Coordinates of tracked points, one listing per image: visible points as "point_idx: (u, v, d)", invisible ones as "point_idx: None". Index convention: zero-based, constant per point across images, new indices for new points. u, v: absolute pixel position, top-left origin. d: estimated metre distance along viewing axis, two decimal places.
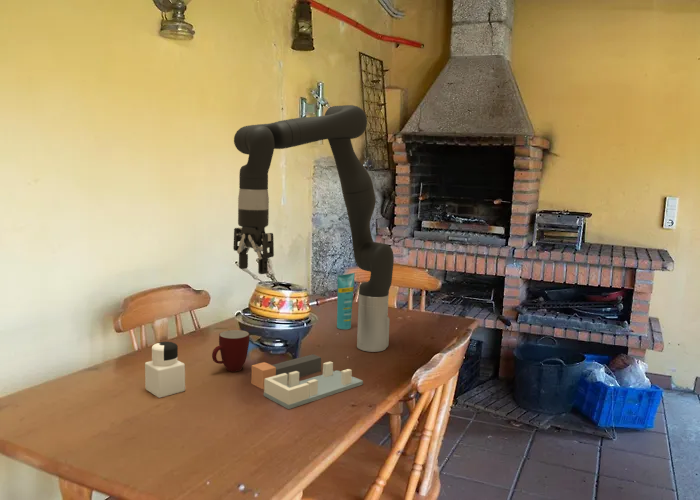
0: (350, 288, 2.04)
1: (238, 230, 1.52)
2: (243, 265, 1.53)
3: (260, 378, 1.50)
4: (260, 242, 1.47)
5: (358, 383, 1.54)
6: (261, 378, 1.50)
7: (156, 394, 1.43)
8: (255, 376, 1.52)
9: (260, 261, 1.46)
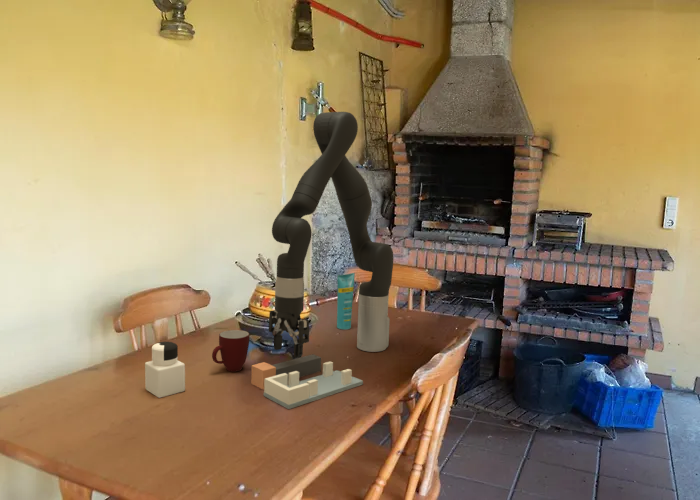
0: (350, 288, 2.04)
1: (273, 313, 1.59)
2: (278, 346, 1.59)
3: (260, 378, 1.50)
4: (295, 327, 1.54)
5: (358, 383, 1.54)
6: (261, 378, 1.50)
7: (156, 394, 1.43)
8: (255, 376, 1.52)
9: (296, 346, 1.53)
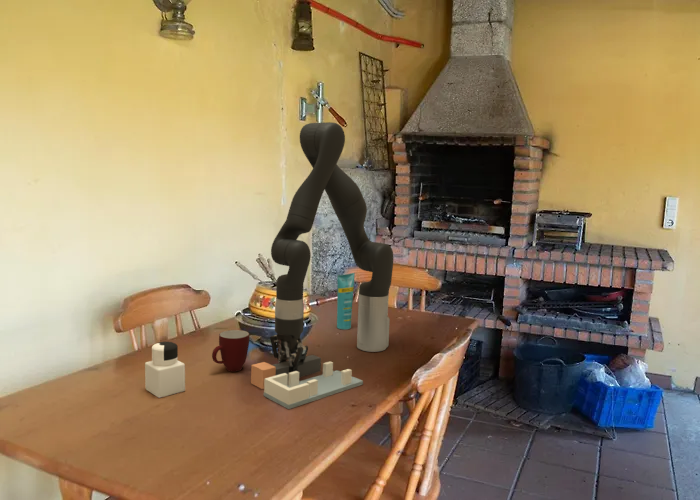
0: (350, 288, 2.04)
1: (274, 337, 1.60)
2: None
3: (259, 378, 1.50)
4: None
5: (358, 383, 1.54)
6: (261, 378, 1.49)
7: (156, 394, 1.43)
8: (255, 376, 1.51)
9: (290, 368, 1.55)
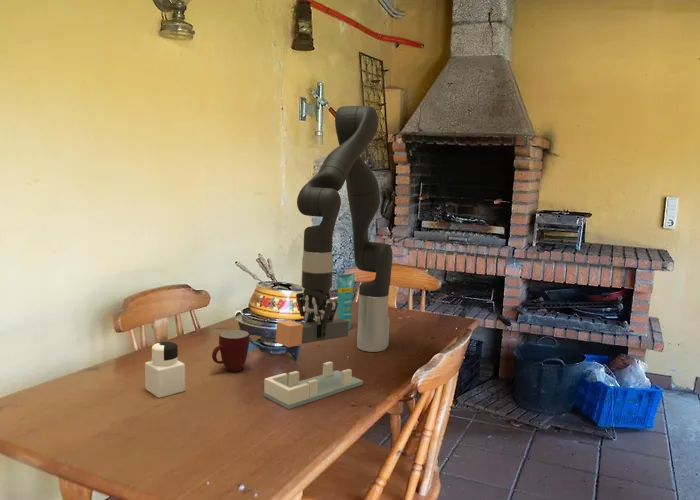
0: (350, 288, 2.04)
1: (300, 294, 1.50)
2: None
3: (285, 335, 1.40)
4: None
5: (358, 383, 1.54)
6: (287, 334, 1.40)
7: (156, 394, 1.43)
8: (280, 333, 1.41)
9: (319, 326, 1.46)
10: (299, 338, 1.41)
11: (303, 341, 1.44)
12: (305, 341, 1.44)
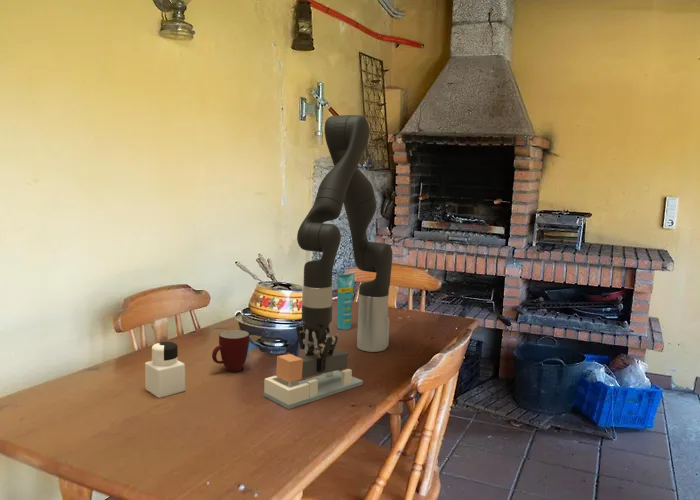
0: (350, 288, 2.04)
1: (300, 327, 1.51)
2: None
3: (286, 370, 1.41)
4: None
5: (358, 383, 1.54)
6: (287, 370, 1.41)
7: (156, 394, 1.43)
8: (280, 368, 1.43)
9: (318, 360, 1.47)
10: (299, 373, 1.43)
11: (303, 375, 1.45)
12: (305, 375, 1.45)
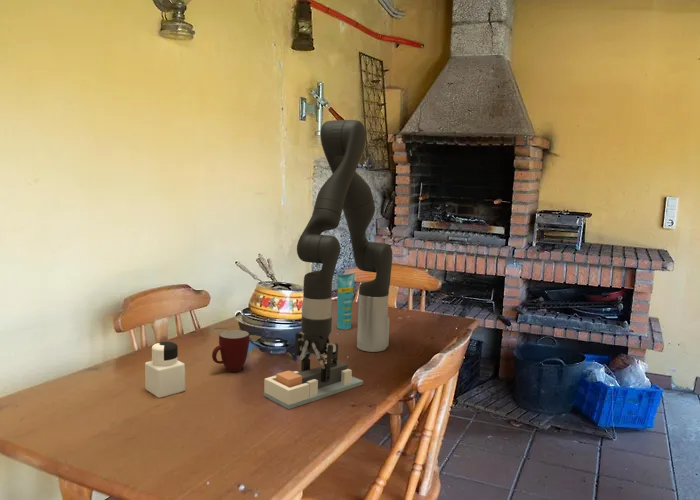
0: (350, 288, 2.04)
1: (300, 335, 1.52)
2: None
3: None
4: (323, 350, 1.47)
5: (358, 383, 1.54)
6: None
7: (156, 394, 1.43)
8: None
9: (323, 370, 1.46)
10: None
11: None
12: None
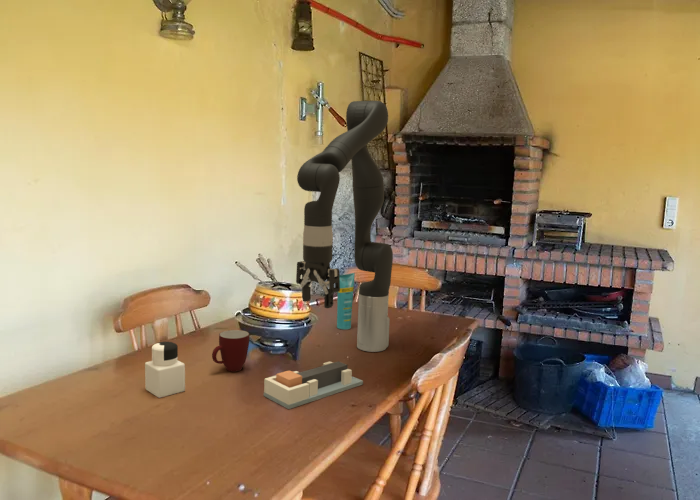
0: (350, 288, 2.04)
1: (301, 264, 1.55)
2: (306, 298, 1.56)
3: None
4: (325, 277, 1.50)
5: (358, 383, 1.54)
6: None
7: (156, 394, 1.43)
8: None
9: (326, 296, 1.49)
10: None
11: None
12: None
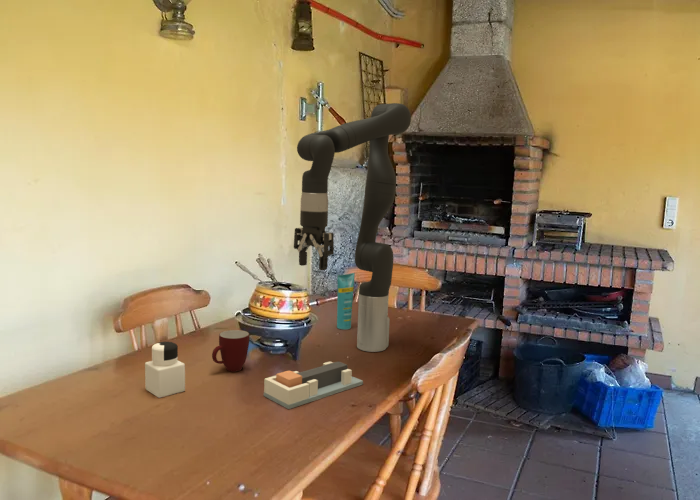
0: (350, 288, 2.04)
1: (298, 230, 1.66)
2: (303, 262, 1.67)
3: None
4: (320, 241, 1.61)
5: (358, 383, 1.54)
6: None
7: (156, 394, 1.43)
8: None
9: (321, 258, 1.60)
10: None
11: None
12: None
